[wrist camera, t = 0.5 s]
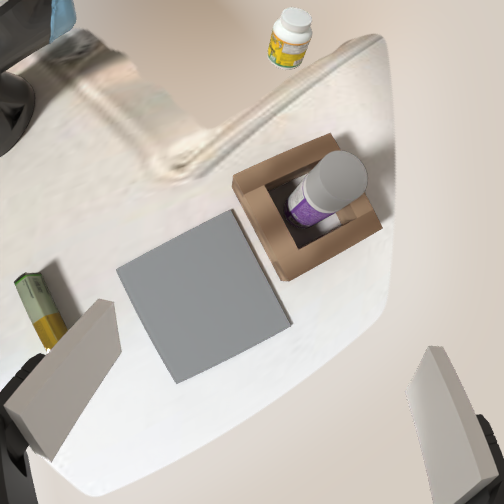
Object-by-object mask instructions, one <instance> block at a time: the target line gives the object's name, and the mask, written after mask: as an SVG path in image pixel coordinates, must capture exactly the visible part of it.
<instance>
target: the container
mask: <svg viewBox="0 0 504 504" xmlns="http://www.w3.org/2000/svg"><path fill="white" fill-rule="evenodd" d="M367 183H368V176H367V172H366V169H365V167H364V165H363V163H362V162H361V161H360V160H359V159H358V158H357V157H356V156H355V155H353V154H351V153H349V152H346V151H333V152H330V153H329V154H327V155H326V156H325V157H324V158H323V159H322V160H321V161H320V162H319V163H318V164H317V165H316V166H315V167H314V168H313V169H312V170H311V171H310V172H309V173H308V174H307V176H306V177H305V178H304V179H303V180H302V182H301V183H300V184H299V185H298V186H297V188H296V189H295V190H294V191H293V192H292V194H291V195H290V196H289V197H288V199H287V200H286V202H285V204H284V215H285V218H286V219H287V221H288V222H289V223H290V224H291V225H292V226H294V227H296V228H301V229H304V228H309V227H311V226H313V225H314V224H316V223H318V222H320V221H322V220H323V219H325V218H327V217H329V216H330V215H332V214H334V213H336V212H337V211H339V210H341V209H342V208H344V207H345V206H347V205H348V204H350V203H351V202H353V201H354V200H356V199H357V198H359V197H360V196H361V195H362V194H363V193H364V191H365V190H366V187H367Z"/></svg>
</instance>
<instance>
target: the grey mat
mask: <svg viewBox="0 0 504 504" xmlns="http://www.w3.org/2000/svg"><path fill="white" fill-rule="evenodd" d="M116 271H117V273H118V275H119V278H120V280H121V282H122V284H123V286H124V288H125V290H126V292H127V294H128V296H129V298H130V301H131V303H132V305H133V307H134V309H135V310H136V312H137V314H138V316H139V318H140V320H141V322H142V324H143V326H144V328H145V330H146V332H147V333H148V335H149V337H150V339H151V341H152V343H153V344H154V346H155V348H156V350H157V352H158V353H159V355H160V357H161V359H162V360H163V362H164V364H165V366H166V367H167V369H168V371H169V372H170V374H171V376H172V378H173V379H174V381H175V382H176V384H178V383H180V382H182V381H184V380H187V379H189V378H191V377H193V376H195V375H197V374H199V373H201V372H203V371H205V370H208V369H210V368H212V367H214V366H216V365H218V364H220V363H222V362H224V361H226V360H228V359H230V358H232V357H234V356H236V355H238V354H240V353H242V352H244V351H246V350H247V349H249V348H251V347H253V346H255V345H257V344H259V343H261V342H263V341H265V340H266V339H268V338H270V337H272V336H274V335H276V334H278V333H279V332H281V331H283V330H285V329H287V328H288V327H290V326H291V325H290V323H289V321H288V319H287V317H286V315H285V313H284V311H283V309H282V308H281V306H280V304H279V302H278V300H277V298H276V296H275V294H274V292H273V290H272V288H271V286H270V285H269V283H268V281H267V279H266V277H265V275H264V273H263V271H262V269H261V267H260V265H259V263H258V262H257V260H256V258H255V256H254V254H253V252H252V250H251V248H250V246H249V244H248V242H247V240H246V239H245V237H244V235H243V233H242V231H241V229H240V227H239V225H238V223H237V221H236V219H235V217H234V216H233V214H232V212H231V210H228V211H226V212H224V213H222V214H220V215H218V216H216V217H214V218H212V219H210V220H208V221H206V222H204V223H203V224H201V225H199V226H197V227H195V228H193V229H191V230H189V231H187V232H185V233H183V234H181V235H179V236H177V237H175V238H173V239H172V240H170V241H168V242H166V243H164V244H162V245H160V246H158V247H156V248H155V249H153V250H151V251H149V252H147V253H145V254H143V255H142V256H140V257H138V258H136V259H134V260H132V261H131V262H129V263H127V264H125V265H123V266H121V267H120V268H118V269H116Z"/></svg>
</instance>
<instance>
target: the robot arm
mask: <svg viewBox="0 0 504 504" xmlns="http://www.w3.org/2000/svg"><path fill="white" fill-rule="evenodd" d="M75 23H76V12H75V7H74V3H73V0H0V156H2V155H3V154H5V153H6V152H7V151H8V150H9V149H10V148H11V147H12V146H13V145H14V144H15V143H16V142H17V141H18V139H19V138H20V137H21V135H22V134H23V132H24V130H25V129H26V127H27V125H28V123H29V121H30V118H31V116H32V113H33V109H34V104H35V95H34V91H33V88H32V87H31V85H30V84H29V83H28V82H27V81H26V80H25V79H24V78H22V77H20V76H18V75H15V74H12V73H9V72H6V70H8V69H9V68H11V67H12V66H13V65H15V64H17V63H18V62H20V61H21V60H23V59H24V58H26V57H27V56H29V55H31V54H32V53H34V52H35V51H37V50H39V49H40V48H42V47H44V46H46V45H47V44H51V43H52V42H53V41H54V40H55V39H56V38H58V37H60V36H61V35H63V34H65V33H66V32H68V31H70V30H71V29H72V28H73V26H74V24H75ZM121 352H122V350H121V345H120V339H119V333H118V327H117V321H116V314H115V307H114V302H111V301H107V300H103V299H98V300H97V301H96V302H95V303H94V304H93V305H92V306H91V307H90V308H89V309H88V310H87V311H86V312H85V313H84V314H83V315H82V317H81V318H80V319H79V320H78V321H77V322H76V323H75V324H74V325H73V326H72V327H71V328H70V329H69V330H68V331H67V333H66V334H65V335H64V336H63V337H62V338H61V339H60V340H59V341H58V342H57V344H56V345H55V346H54V347H53V348H52V349H51V350H50V351H49V352H48V354H47V355H44V354H41V353H39V354H37V355H36V356H34V357H32V358H30V359H29V360H28V361H27V362H26V363H25V364H24V365H23V367H22V368H21V370H19V371H18V372H17V373H16V374H15V377H13V378H12V379H11V380H10V381H9V382H8V384H7V385H6V386H5V387H4V388H3V389H2V391H1V392H0V504H38V501H37V497H36V493H35V488H34V484H33V479H32V475H31V470H30V464H29V459H28V455H27V452H26V449H27V447H28V446H30V447H31V448H32V450H33V451H34V453H35V454H37V455H38V456H40V457H42V458H44V459H46V460H48V461H49V462H52V461H53V459H54V457H55V456H56V454H57V452H58V451H59V449H60V447H61V446H62V444H63V442H64V441H65V439H66V438H67V436H68V434H69V433H70V431H71V429H72V428H73V426H74V425H75V423H76V421H77V420H78V418H79V417H80V415H81V413H82V412H83V410H84V409H85V407H86V406H87V404H88V402H89V401H90V399H91V398H92V396H93V395H94V393H95V392H96V390H97V389H98V387H99V386H100V384H101V382H102V381H103V379H104V378H105V376H106V375H107V373H108V372H109V370H110V369H111V367H112V366H113V364H114V363H115V361H116V360H117V358H118V357H119V355H120V354H121ZM405 393H406V397H407V400H408V404H409V407H410V410H411V414H412V417H413V421H414V424H415V428H416V432H417V435H418V439H419V443H420V447H421V451H422V455H423V459H424V463H425V467H426V471H427V476H428V481H429V485H430V490H431V494H432V500H433V504H504V458H503V456H502V452H501V450H500V448H499V445H498V444H497V440H496V438H495V436H494V435H493V434H494V433H493V431H492V428H491V426H490V424H489V422H488V421H487V420H486V419H485V418H484V417H483V415H481V414H479V415H476V414H475V412H474V410H473V408H472V405H471V403H470V401H469V399H468V396H467V394H466V392H465V390H464V388H463V386H462V384H461V382H460V380H459V377H458V375H457V373H456V371H455V369H454V367H453V365H452V363H451V362H450V359H449V357H448V356H447V354H446V352H445V350H444V348H443V347H439V346H438V347H437V346H428V348H427V350H426V352H425V354H424V356H423V358H422V360H421V363H420V364H419V366H418V368H417V370H416V372H415V374H414V376H413V378H412V380H411V382H410V384H409V385H408V387H407V389H406V391H405Z"/></svg>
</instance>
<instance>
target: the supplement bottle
mask: <svg viewBox="0 0 504 504" xmlns="http://www.w3.org/2000/svg"><path fill="white" fill-rule="evenodd" d="M311 22H312V17H311V16H310V14H309V13H308V12H306V11H305V10H302V9H299V8H287V9H285V10H284V11H283V12H282V14H281V17H280V19H278V20H277V21H276V22H275V24H274V26H273V31H272V35H271V39H270V44H269V48H268V59H269V61H270V62H271V63H272V64H273V65H274V66H276V67H278V68H280V69H285V70H291V69H295V68H297V67H298V66H299V65H300V64H301V63H302V60H303V58H304V55H305V52H306V50H307V47H308V44H309V42H310V40H311V37H312V29H311V27H310V26H311Z"/></svg>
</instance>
